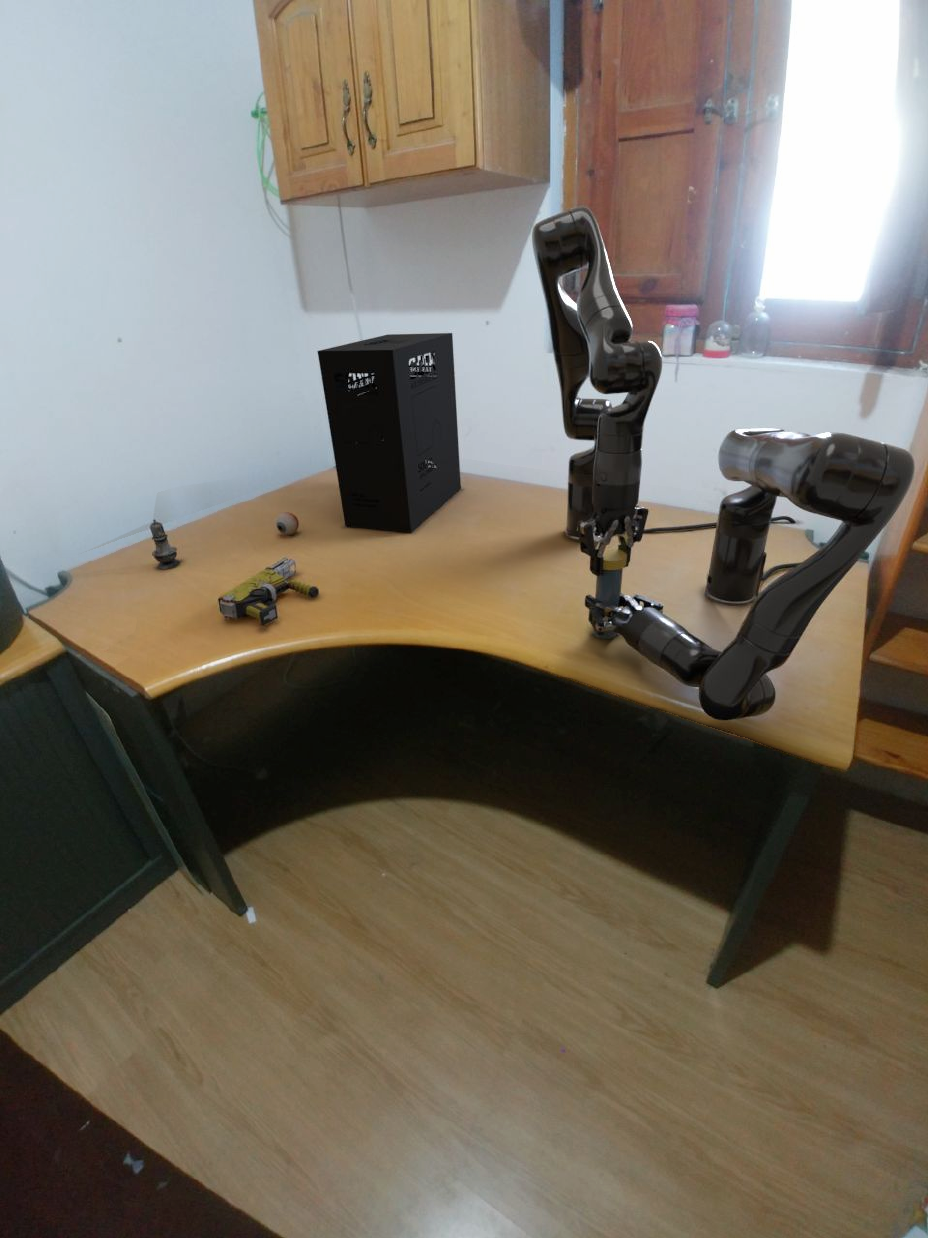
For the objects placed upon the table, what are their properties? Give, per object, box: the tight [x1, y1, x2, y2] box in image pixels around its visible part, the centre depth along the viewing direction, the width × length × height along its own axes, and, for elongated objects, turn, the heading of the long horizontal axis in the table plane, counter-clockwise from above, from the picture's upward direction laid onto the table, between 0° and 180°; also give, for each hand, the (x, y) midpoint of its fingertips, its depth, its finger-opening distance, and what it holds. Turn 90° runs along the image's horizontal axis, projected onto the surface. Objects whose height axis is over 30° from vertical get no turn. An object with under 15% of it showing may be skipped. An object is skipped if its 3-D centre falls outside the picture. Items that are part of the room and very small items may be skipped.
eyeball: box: [275, 511, 300, 536], centre depth 163 cm, size 6×6×6 cm
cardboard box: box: [317, 332, 462, 534], centre depth 168 cm, size 38×20×45 cm, turn 159°
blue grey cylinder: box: [592, 568, 624, 640], centre depth 109 cm, size 4×4×16 cm
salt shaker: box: [149, 519, 181, 570], centre depth 148 cm, size 6×6×12 cm
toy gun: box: [217, 557, 320, 627], centre depth 130 cm, size 5×24×15 cm
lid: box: [603, 547, 627, 570], centre depth 105 cm, size 5×5×2 cm
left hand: (609, 569), depth 107 cm, fingers closed on lid, 5 cm apart
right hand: (598, 596), depth 112 cm, fingers closed on blue grey cylinder, 4 cm apart
